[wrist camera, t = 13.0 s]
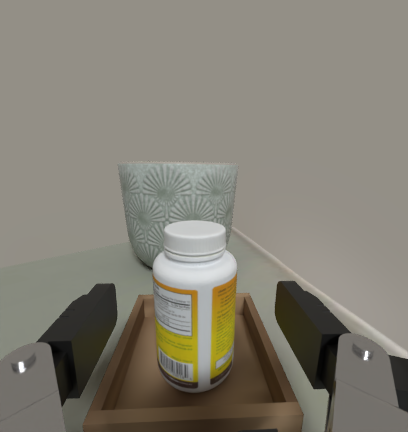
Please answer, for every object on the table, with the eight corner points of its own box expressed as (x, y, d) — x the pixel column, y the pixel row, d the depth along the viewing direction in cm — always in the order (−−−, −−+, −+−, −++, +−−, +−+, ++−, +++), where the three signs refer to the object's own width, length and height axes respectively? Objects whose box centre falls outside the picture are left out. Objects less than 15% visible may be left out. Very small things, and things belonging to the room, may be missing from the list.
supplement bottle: (223, 329, 19) (227, 216, 17) (243, 393, 14) (252, 239, 11) (159, 335, 18) (154, 218, 16) (153, 404, 13) (144, 243, 11)
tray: (88, 464, 11) (82, 425, 10) (140, 318, 21) (138, 294, 21) (298, 453, 11) (303, 414, 11) (247, 316, 22) (249, 292, 21)
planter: (251, 282, 28) (258, 163, 25) (114, 295, 25) (102, 160, 22) (218, 240, 44) (220, 165, 41) (133, 245, 41) (128, 163, 38)
